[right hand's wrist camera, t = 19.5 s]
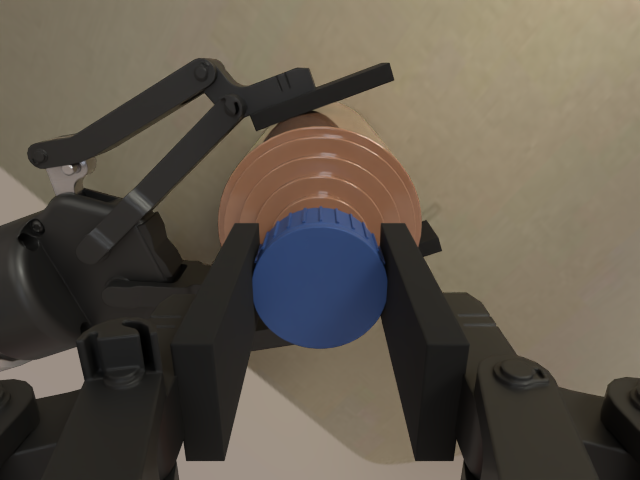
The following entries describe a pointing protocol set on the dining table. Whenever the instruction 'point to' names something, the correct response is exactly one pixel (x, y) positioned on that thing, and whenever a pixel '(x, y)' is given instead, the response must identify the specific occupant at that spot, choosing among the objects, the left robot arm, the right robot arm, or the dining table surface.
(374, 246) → the cap
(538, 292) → the dining table surface
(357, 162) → the bottle
